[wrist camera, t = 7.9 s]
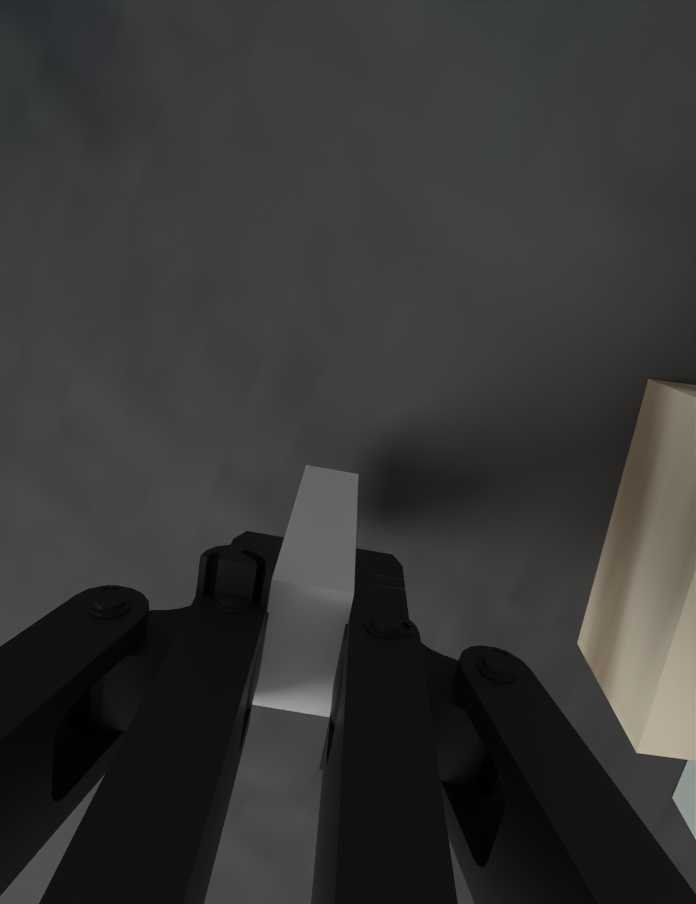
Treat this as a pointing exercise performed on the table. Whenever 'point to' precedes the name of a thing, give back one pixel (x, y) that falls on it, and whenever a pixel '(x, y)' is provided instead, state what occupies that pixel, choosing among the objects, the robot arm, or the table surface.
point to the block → (651, 582)
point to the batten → (687, 795)
